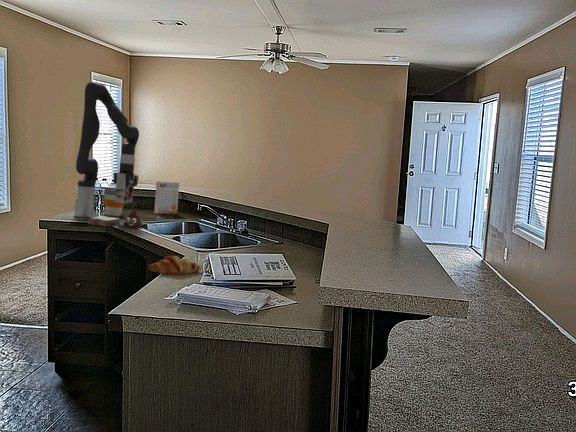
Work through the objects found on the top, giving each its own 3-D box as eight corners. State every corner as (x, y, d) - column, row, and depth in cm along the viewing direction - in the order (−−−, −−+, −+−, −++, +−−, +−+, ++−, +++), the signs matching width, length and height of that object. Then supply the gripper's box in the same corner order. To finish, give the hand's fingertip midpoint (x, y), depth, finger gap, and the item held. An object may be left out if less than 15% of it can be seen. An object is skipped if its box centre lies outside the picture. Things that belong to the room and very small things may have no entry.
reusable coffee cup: (98, 213, 358) (99, 188, 356) (115, 212, 368) (116, 188, 366) (111, 216, 351) (113, 191, 349) (128, 215, 361) (130, 191, 359)
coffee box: (125, 203, 324) (127, 174, 322) (114, 201, 326) (116, 172, 324) (132, 202, 333) (135, 173, 331) (122, 200, 334) (124, 172, 332)
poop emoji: (144, 227, 325) (145, 210, 324) (138, 229, 317) (140, 211, 316) (126, 224, 326) (127, 208, 325) (120, 226, 318) (122, 209, 317)
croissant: (197, 279, 233) (195, 259, 236) (207, 272, 225) (205, 252, 228) (144, 279, 222) (143, 258, 224) (153, 272, 214) (152, 251, 216)
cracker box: (172, 213, 394) (174, 181, 392) (177, 214, 390) (179, 182, 387) (153, 213, 384) (156, 180, 382) (158, 214, 380) (160, 181, 378)
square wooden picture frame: (87, 223, 316) (88, 217, 315) (99, 221, 327) (99, 215, 327) (108, 226, 313) (109, 220, 313) (119, 224, 325) (120, 218, 325)
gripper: (111, 161, 324) (109, 191, 326) (136, 164, 322) (133, 194, 324) (118, 160, 332) (115, 190, 334) (142, 164, 329) (139, 194, 331)
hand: (124, 192), depth 329 cm, fingers closed on coffee box, 6 cm apart
